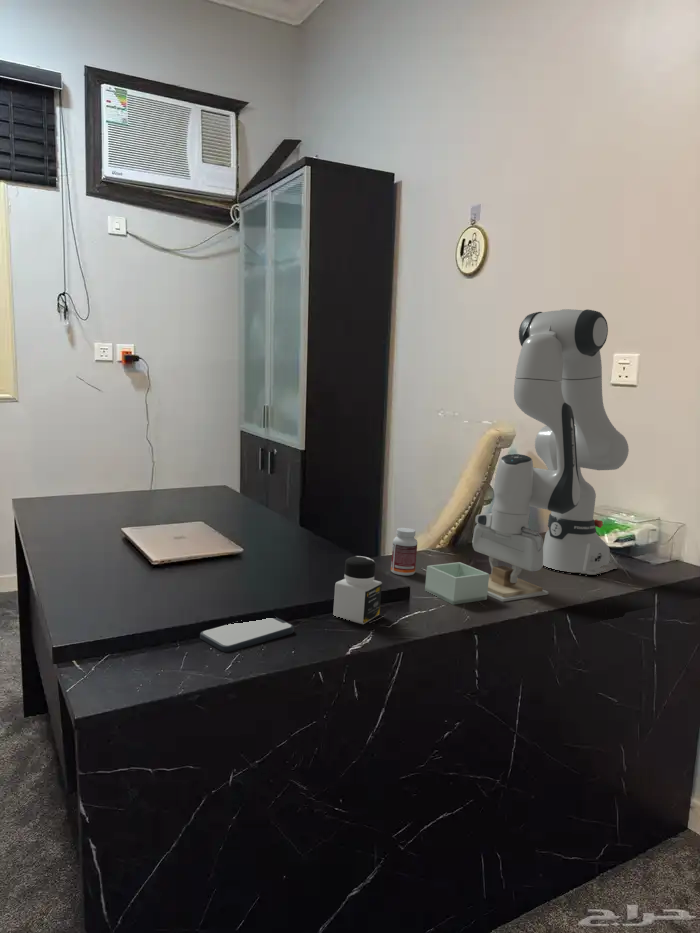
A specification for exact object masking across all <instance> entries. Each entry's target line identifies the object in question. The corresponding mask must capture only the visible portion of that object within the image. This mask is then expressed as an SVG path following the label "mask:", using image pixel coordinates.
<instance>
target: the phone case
mask: <svg viewBox="0 0 700 933" xmlns="http://www.w3.org/2000/svg"><path fill="white" fill-rule="evenodd" d="M275 617H276V618H266V619H262V620H256V621H249V622H243V623H234V622H233V623H234V624H231V623H228V625H227V624H224V625H220V626H215V627H212V628H209V629H206V630H202V631H200V633H199V639H200V640H202V641H203V642H205V643H207V644H208V645H211V646H212V647H213V648H216V649H217V650H218V651H221V652H224V653H225V652H227V653H228V652H230V653H231V652H234V651H237V650H240V649H244V648H248V647H251V646H255V645H258V644H261V643H265V642H269V641H272V640H275V639H278V638H279V639H280V638H282V637H286V636H289V635H292V634H294V631H295V627H294V625H293V624H291V623H289V622H288V621H285V620H284V619H281V618H279V617H277V616H275Z"/></svg>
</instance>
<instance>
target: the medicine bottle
mask: <svg viewBox="0 0 700 933" xmlns="http://www.w3.org/2000/svg"><path fill="white" fill-rule="evenodd" d="M375 572H376V561H375V560H374V559H372V558H370V557H367V556H361V555H355V556H354V555H353V556H350V557H348V558H346V559H345V564H344V576H343V579H340V580H338V581H336V582H335V585H334V594H333V595H334V598H333V599H334V600H333V609H332V610H333V612H332V613H333V614H332V615H334V616H336V617H335V618H338V617H340V618H339V619H341V618H343V619H342V620H345V619H346V621H349V620H350V621H349V622H353V623H357V624H360V625H364V624H366V623H368V622H370V621H372V620H373V619H374V618H377V617H378V616H379V615H380V610H381V598H382V588H383V587H382V585H383V582H382V581H380V580H376V579H375V574H376V573H375ZM334 616H333V617H334Z"/></svg>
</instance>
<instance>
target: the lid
mask: <svg viewBox="0 0 700 933" xmlns="http://www.w3.org/2000/svg"><path fill="white" fill-rule="evenodd" d="M513 570H514V569H512V567H510V566H506V565H498V566H497V567H493V571H492V570H491V571H492V575H491V573H490V574H489V573H488V574H489V582H488V591H490V592H492V593H494V594H496V595H499V596H501V597H508V596H514V595H521V594H527V593H533V592H540V591H542V590H544V589H543V587H542V586H539V585H536V584H534V583H531V582H528V581H526V580H524V579H522V578H518V577H517V582H516V583H511V582H508V581H507V579H508V574H511V573H512V572H513Z"/></svg>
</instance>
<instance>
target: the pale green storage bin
mask: <svg viewBox="0 0 700 933" xmlns="http://www.w3.org/2000/svg"><path fill="white" fill-rule="evenodd" d="M488 582H489V573H488V572H486V571H483V570H480V569H479V568H478V569H477V568H475V567H473V566H471V565H468V564H465V563H463V562H460V561H458V562H448V563H441V564H431V565H427V566H426V574H425V582H424V583H425V584H424V585H425V586H424V592H426V591H427V593H428V592H429V593H428V594H430V593H431V594H430V595H432V594H433V595H432V596H434V595H435V596H434V597H436V596H437V598H438V599H440V600H443V601H444V602H447V603H448V604H451V605H453V606H455V605H460V604H468V603H472V602H473V603H474V602H479V601H480V602H481V601H485V600H487V599H488V595H487V592H488Z"/></svg>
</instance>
